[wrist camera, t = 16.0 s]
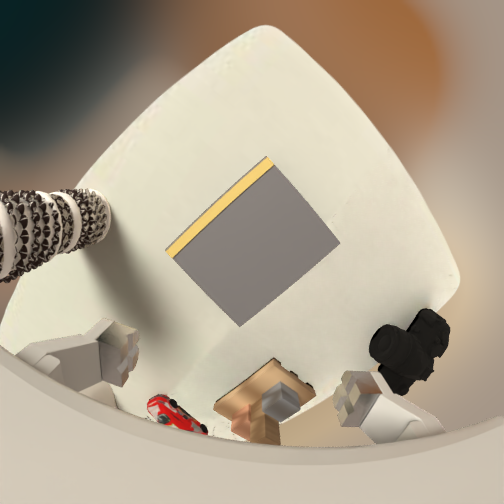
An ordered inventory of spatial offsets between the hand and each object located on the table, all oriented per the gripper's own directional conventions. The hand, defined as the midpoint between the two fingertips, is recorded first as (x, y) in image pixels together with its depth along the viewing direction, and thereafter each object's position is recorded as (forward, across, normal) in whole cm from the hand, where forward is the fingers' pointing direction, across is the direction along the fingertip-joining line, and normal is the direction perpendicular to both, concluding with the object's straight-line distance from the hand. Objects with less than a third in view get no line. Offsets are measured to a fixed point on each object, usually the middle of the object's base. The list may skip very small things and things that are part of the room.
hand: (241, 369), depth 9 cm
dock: (+27, 0, 0) cm, 27 cm away
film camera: (+27, -27, +10) cm, 40 cm away
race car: (+29, +3, +36) cm, 46 cm away
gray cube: (+25, -10, +22) cm, 35 cm away
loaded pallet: (+27, -8, +25) cm, 38 cm away
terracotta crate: (+25, -6, +28) cm, 38 cm away
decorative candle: (+27, +25, +1) cm, 37 cm away
